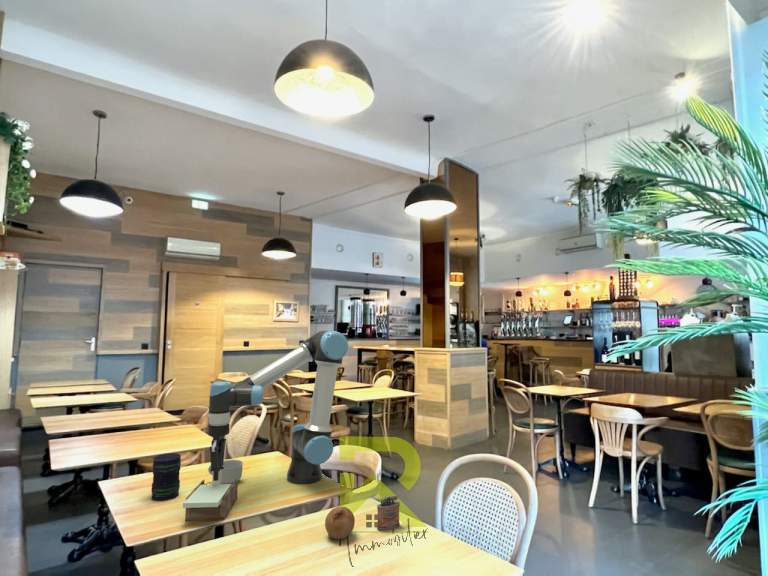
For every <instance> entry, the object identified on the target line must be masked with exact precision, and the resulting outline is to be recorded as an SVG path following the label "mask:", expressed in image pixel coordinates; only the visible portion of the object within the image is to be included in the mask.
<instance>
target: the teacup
mask: <svg viewBox="0 0 768 576" xmlns="http://www.w3.org/2000/svg"><path fill="white" fill-rule="evenodd" d="M243 464H244V462H243V461H242V460H240V459H224V462H223V466H222V467H224V469H220V470H221V484H232V485H233V483H234V482H235V480H236V479H238V481H240V479H241V478H242V475H243ZM207 469H208V473H209V474H210V475H211V476H212V477H213V472H210V470H211V464H210V465H208V468H207Z"/></svg>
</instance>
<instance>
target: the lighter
mask: <svg viewBox="0 0 768 576" xmlns="http://www.w3.org/2000/svg"><path fill="white" fill-rule="evenodd" d="M398 497H399V496H398V494H397V495H396V494H394V495H390V496H388V495H385V496H384V497H381V498H380V503H379V504H376V509H377V526H376V530H377V531H378V532H386V531H387V532H388V531H391V530H392V531H393V530H395V529H398V528H400V527H401V525H400V524H401V523H400V506H401V502H400V501H398V500H399V499H398Z"/></svg>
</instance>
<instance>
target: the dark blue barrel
mask: <svg viewBox="0 0 768 576" xmlns="http://www.w3.org/2000/svg"><path fill="white" fill-rule="evenodd" d="M181 456H182V455H181V454H179V453H172V452H171V453H163V454H159V455H156V456H154V457H153V462H152V471H151V472H152V474H153V475H152V483H151V500H152V501H154V502H167V501H171V500H174V499H176V498H178V497H179V495H180V492H179V491H180V488H181V485H180V483H181V480H180V471H181V466H182V465H181V464H182V461H181Z"/></svg>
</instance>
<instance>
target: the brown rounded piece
mask: <svg viewBox="0 0 768 576" xmlns="http://www.w3.org/2000/svg"><path fill="white" fill-rule="evenodd" d="M355 522H356V519H355V514H354V513H353V512H352V511H351V509H350V508H348V507H346V506H336V507H334V508H332V509H331V510H330V511H329V512H328V513H327V515H326V517H325V521H324V526H325V530H326V532H327V534H328V535H327V536H328V537H330V538H333V539H335V540H337V541H338V540H344V539H345V540H346V538H347V537H349V536H350V535H351V534H352V532H353V530H354V528H355Z"/></svg>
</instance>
